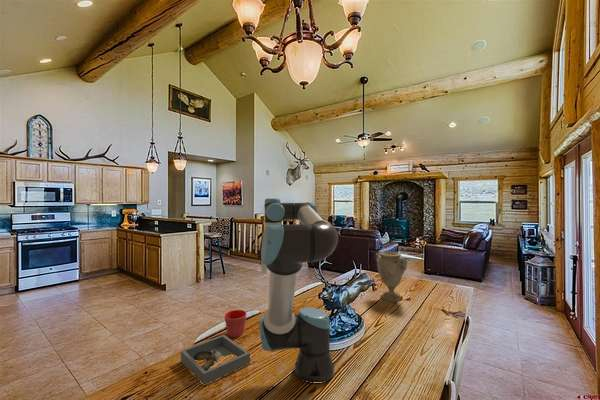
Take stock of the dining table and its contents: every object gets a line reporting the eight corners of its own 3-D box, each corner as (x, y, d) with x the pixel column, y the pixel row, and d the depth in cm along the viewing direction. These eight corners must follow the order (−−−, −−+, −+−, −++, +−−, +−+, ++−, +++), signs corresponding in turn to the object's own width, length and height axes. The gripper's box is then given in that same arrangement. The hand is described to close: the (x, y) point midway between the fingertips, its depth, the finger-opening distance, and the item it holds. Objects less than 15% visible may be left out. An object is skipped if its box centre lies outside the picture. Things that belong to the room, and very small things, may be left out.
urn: (367, 296, 191) (367, 252, 191) (384, 290, 202) (384, 248, 202) (398, 307, 172) (398, 258, 172) (415, 300, 183) (415, 254, 182)
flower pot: (224, 340, 133) (224, 320, 133) (224, 330, 144) (224, 310, 144) (247, 337, 136) (247, 317, 136) (245, 327, 147) (245, 308, 147)
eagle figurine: (208, 354, 119) (189, 361, 111) (216, 342, 117) (198, 347, 110) (217, 370, 115) (198, 378, 107) (225, 357, 113) (207, 364, 106)
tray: (250, 364, 114) (249, 353, 114) (203, 386, 101) (203, 374, 101) (223, 344, 130) (223, 334, 130) (180, 361, 116) (180, 350, 116)
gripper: (297, 232, 127) (297, 279, 127) (262, 228, 144) (262, 270, 145) (284, 234, 122) (285, 283, 122) (250, 229, 139) (250, 272, 139)
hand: (273, 276), depth 133 cm, fingers open, 13 cm apart
